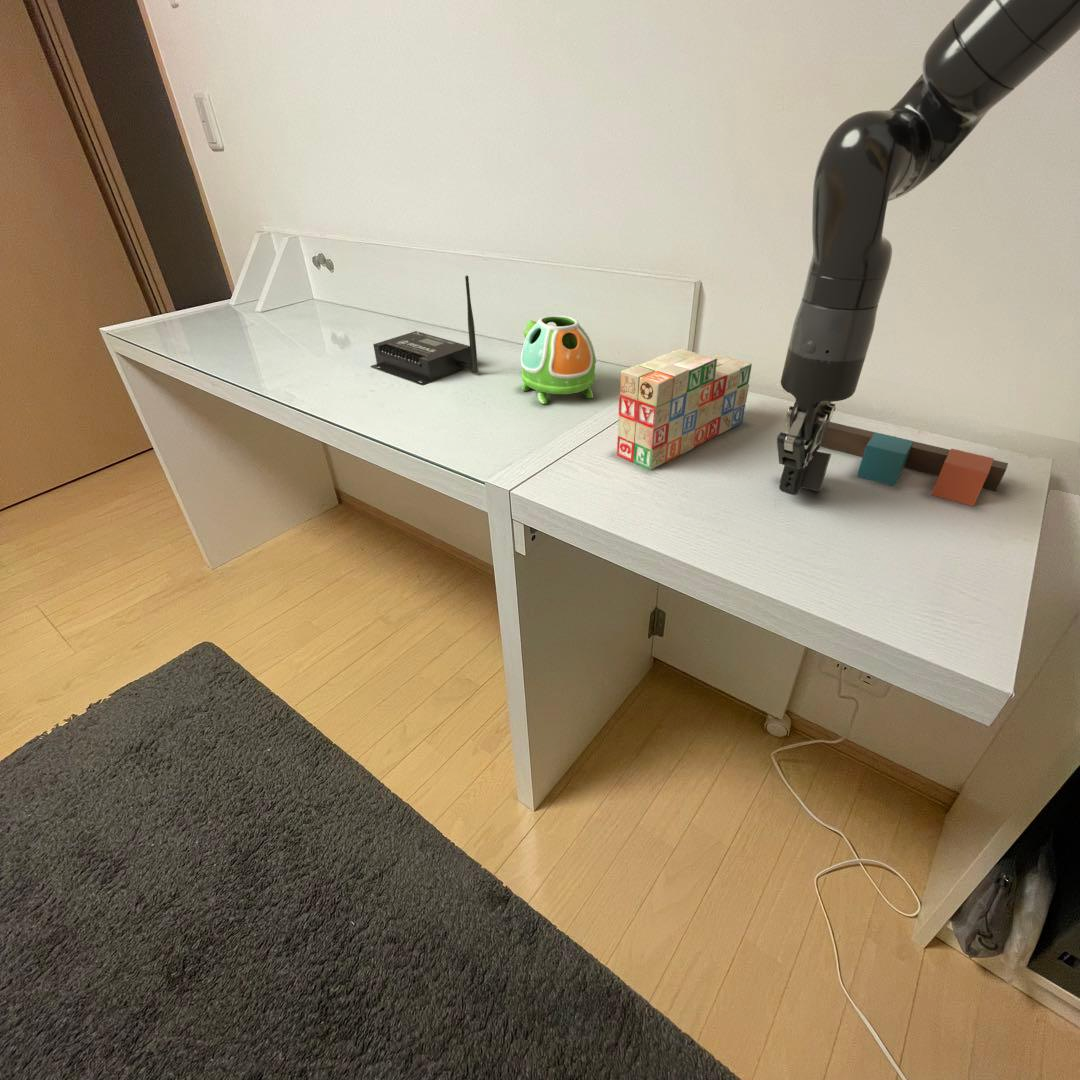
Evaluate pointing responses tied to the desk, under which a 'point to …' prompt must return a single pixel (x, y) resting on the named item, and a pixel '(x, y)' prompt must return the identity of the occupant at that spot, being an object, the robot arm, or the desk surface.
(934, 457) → the rail
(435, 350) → the wireless controller
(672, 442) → the stack of blocks
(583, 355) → the turtle holder
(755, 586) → the desk surface
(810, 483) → the block charcoal
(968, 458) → the block terracotta
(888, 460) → the block teal
